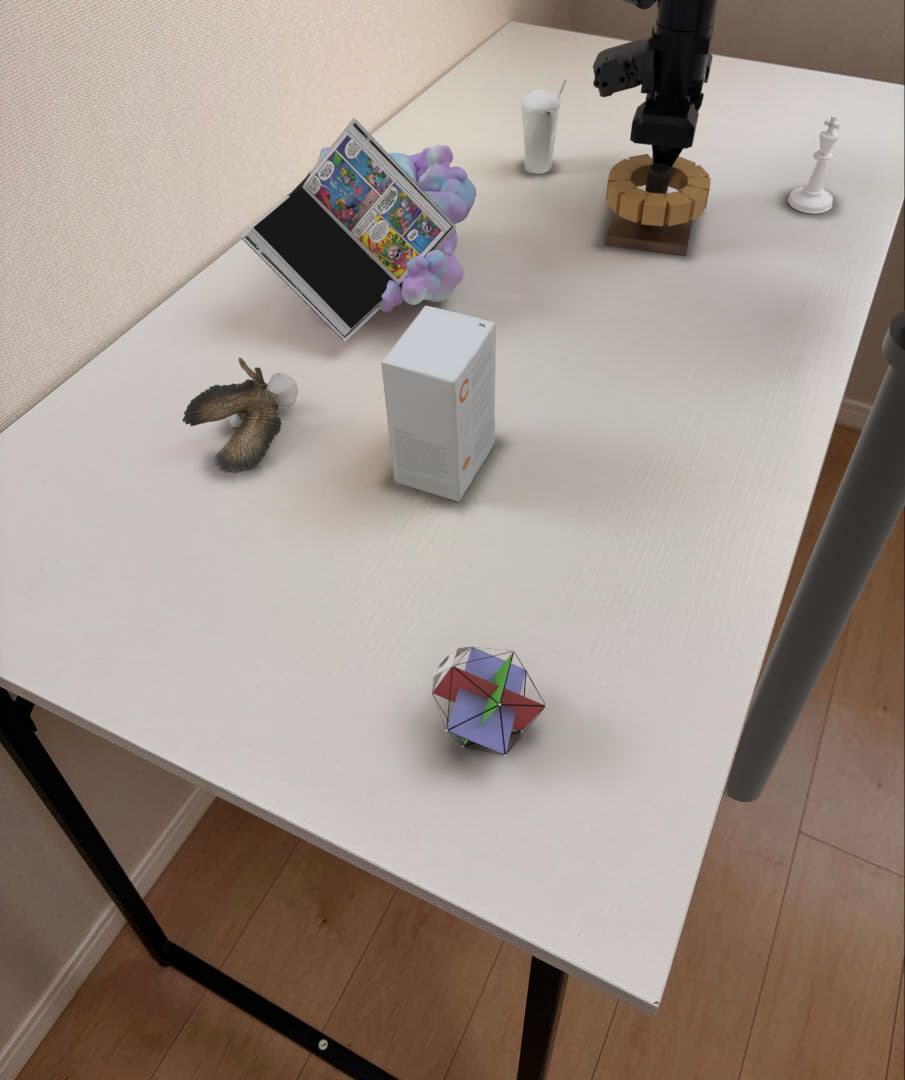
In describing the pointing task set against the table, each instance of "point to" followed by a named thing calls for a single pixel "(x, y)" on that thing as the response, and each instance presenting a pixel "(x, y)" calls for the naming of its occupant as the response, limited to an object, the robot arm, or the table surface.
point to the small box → (441, 401)
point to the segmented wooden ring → (654, 205)
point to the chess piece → (817, 176)
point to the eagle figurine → (244, 415)
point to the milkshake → (540, 128)
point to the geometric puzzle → (486, 699)
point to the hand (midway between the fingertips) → (661, 171)
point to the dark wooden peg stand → (649, 235)
